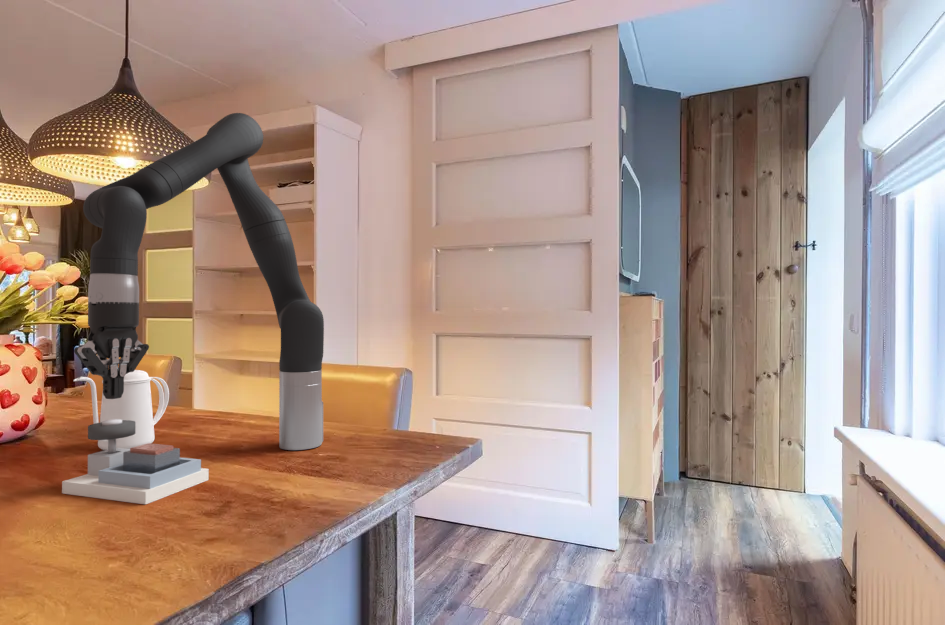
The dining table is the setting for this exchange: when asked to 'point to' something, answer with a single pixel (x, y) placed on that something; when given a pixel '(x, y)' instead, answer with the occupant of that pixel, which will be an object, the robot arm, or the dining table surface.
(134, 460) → the copper topped block
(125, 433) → the wheel
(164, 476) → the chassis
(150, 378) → the coffeepot
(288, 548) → the dining table surface
